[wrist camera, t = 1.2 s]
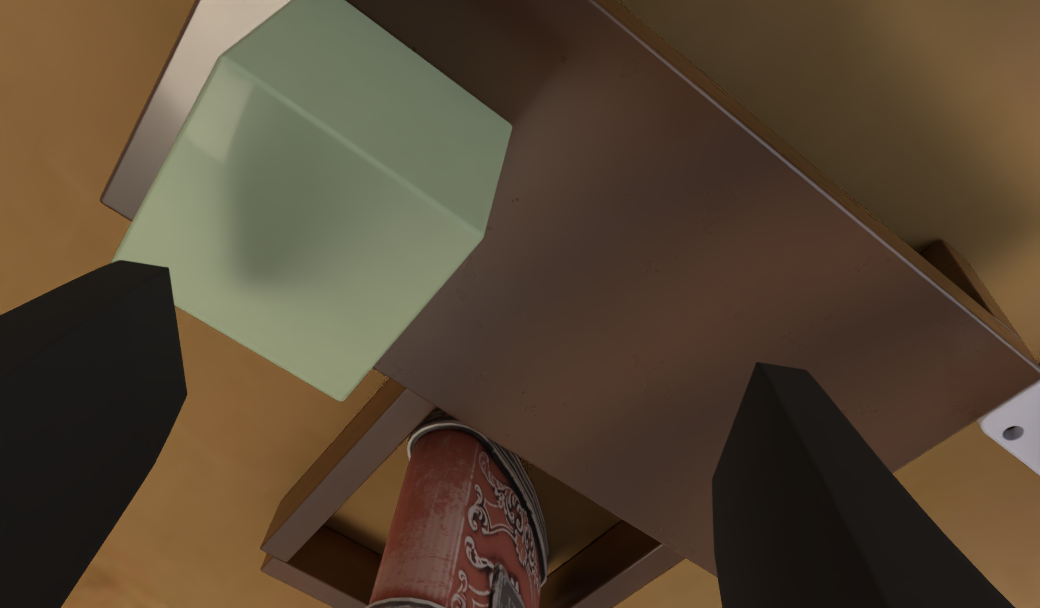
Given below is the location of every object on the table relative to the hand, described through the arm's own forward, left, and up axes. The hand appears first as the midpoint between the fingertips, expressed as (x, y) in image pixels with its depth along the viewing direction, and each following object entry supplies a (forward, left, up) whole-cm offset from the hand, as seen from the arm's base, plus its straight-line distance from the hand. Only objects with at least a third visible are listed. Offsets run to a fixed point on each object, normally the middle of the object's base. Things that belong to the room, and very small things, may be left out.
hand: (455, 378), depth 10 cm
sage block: (+3, +1, -6) cm, 6 cm away
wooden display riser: (-3, +7, -10) cm, 13 cm away
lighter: (-7, +12, -10) cm, 17 cm away
